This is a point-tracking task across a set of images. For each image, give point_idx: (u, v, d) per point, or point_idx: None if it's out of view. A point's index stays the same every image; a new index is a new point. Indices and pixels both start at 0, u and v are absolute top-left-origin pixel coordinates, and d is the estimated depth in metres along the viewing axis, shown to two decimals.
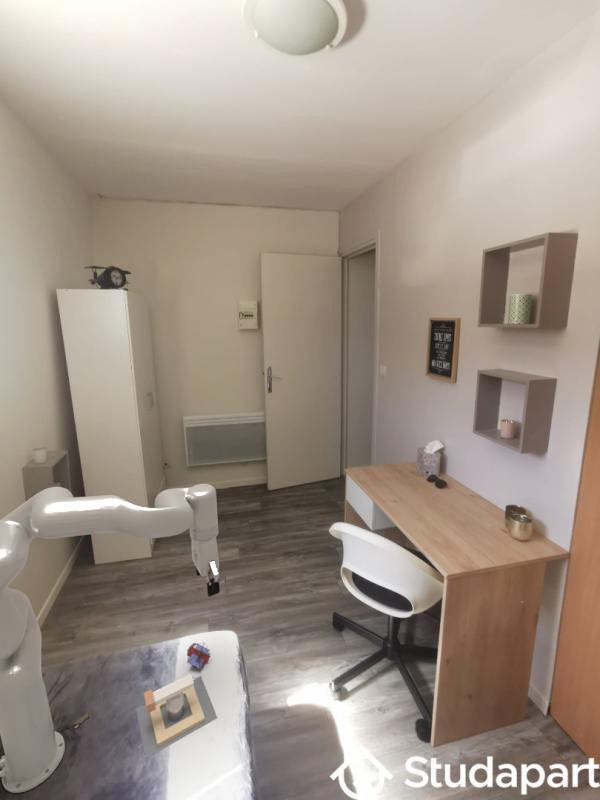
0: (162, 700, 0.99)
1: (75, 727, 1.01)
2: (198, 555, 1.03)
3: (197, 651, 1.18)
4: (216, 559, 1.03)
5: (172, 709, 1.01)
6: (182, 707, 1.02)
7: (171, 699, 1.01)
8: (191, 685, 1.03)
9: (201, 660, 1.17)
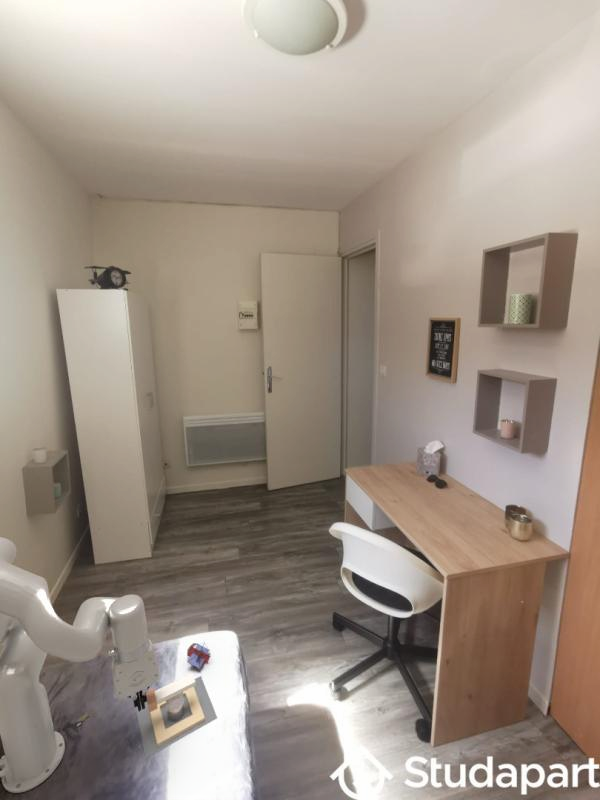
0: (164, 699, 0.99)
1: (77, 725, 1.02)
2: (148, 667, 0.93)
3: (197, 651, 1.18)
4: None
5: (172, 709, 1.01)
6: (182, 707, 1.02)
7: (171, 699, 1.01)
8: (192, 684, 1.03)
9: (201, 660, 1.17)
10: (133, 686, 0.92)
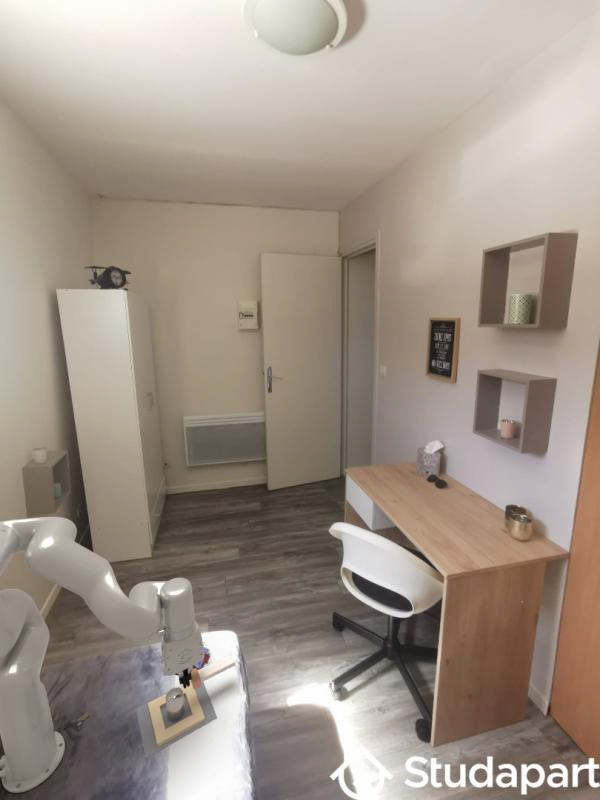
0: (206, 678, 1.05)
1: (78, 724, 1.02)
2: (194, 646, 0.99)
3: None
4: None
5: (172, 709, 1.01)
6: (182, 707, 1.02)
7: (171, 699, 1.01)
8: (232, 664, 1.09)
9: None
10: (181, 664, 0.98)
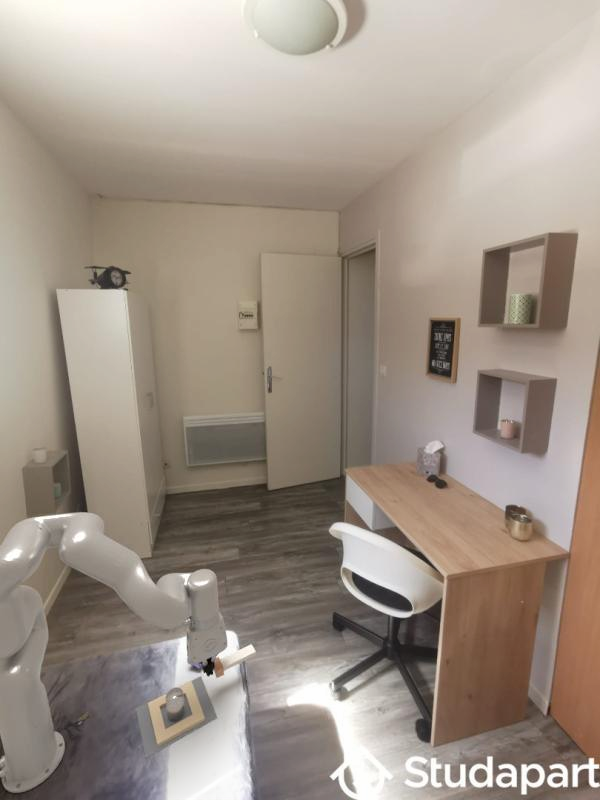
0: (229, 666, 1.08)
1: (79, 724, 1.02)
2: (218, 635, 1.03)
3: None
4: None
5: (172, 709, 1.01)
6: (182, 707, 1.02)
7: (172, 699, 1.01)
8: (253, 654, 1.12)
9: None
10: (206, 652, 1.01)
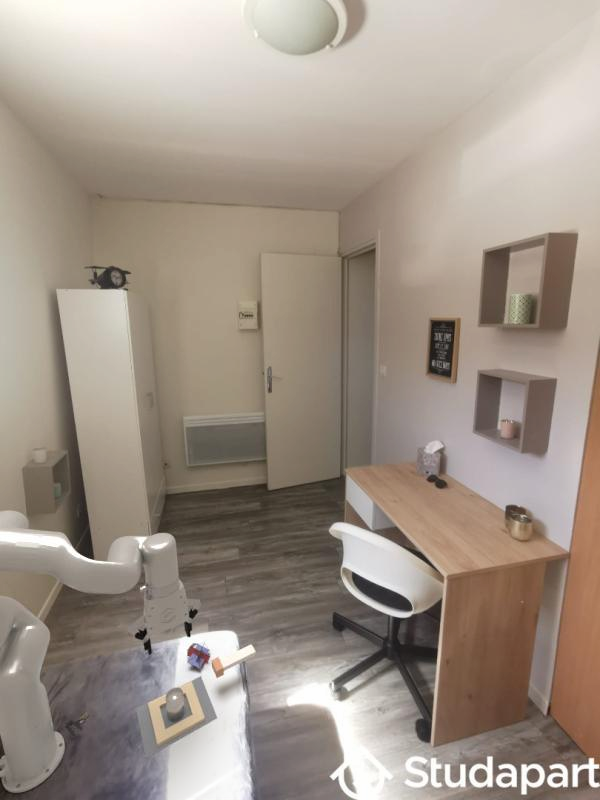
0: (229, 666, 1.08)
1: (80, 722, 1.02)
2: (178, 605, 0.94)
3: (197, 651, 1.18)
4: None
5: (172, 709, 1.01)
6: (182, 707, 1.02)
7: (171, 699, 1.01)
8: (253, 654, 1.12)
9: (201, 660, 1.17)
10: (164, 623, 0.93)
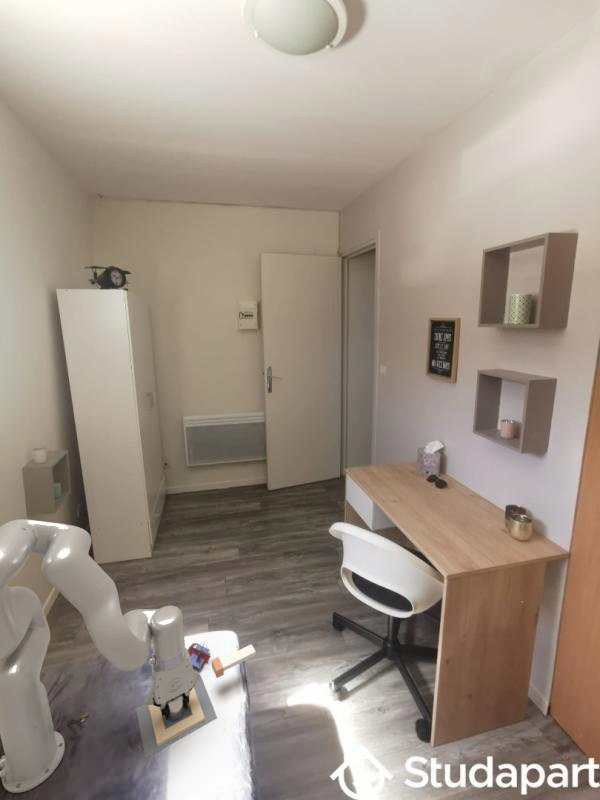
0: (229, 666, 1.08)
1: (82, 721, 1.03)
2: (184, 674, 0.99)
3: (197, 651, 1.18)
4: None
5: (172, 709, 1.01)
6: (182, 707, 1.02)
7: (171, 699, 1.01)
8: (253, 654, 1.12)
9: (201, 660, 1.17)
10: (171, 692, 0.98)
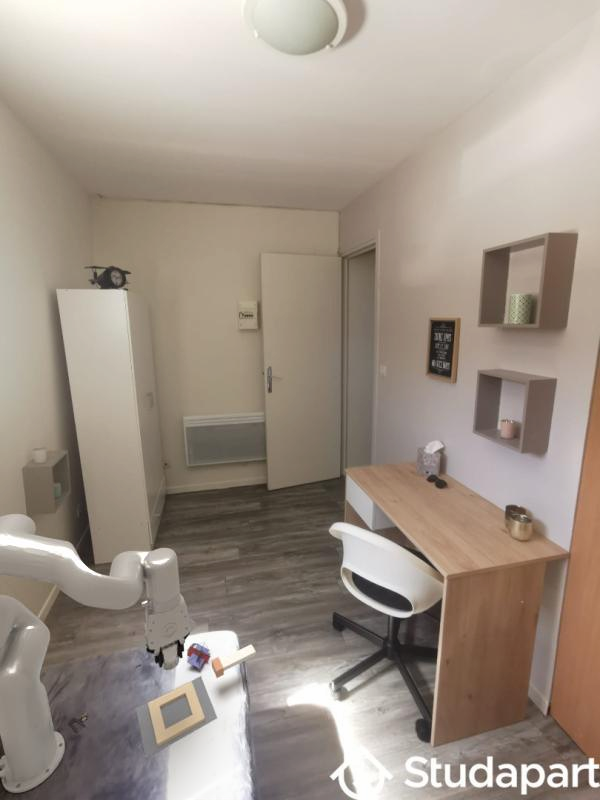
0: (229, 666, 1.08)
1: (83, 720, 1.03)
2: (179, 619, 0.95)
3: (197, 651, 1.18)
4: None
5: (166, 656, 0.97)
6: (177, 655, 0.98)
7: (166, 646, 0.97)
8: (253, 654, 1.12)
9: (201, 660, 1.17)
10: (165, 637, 0.94)
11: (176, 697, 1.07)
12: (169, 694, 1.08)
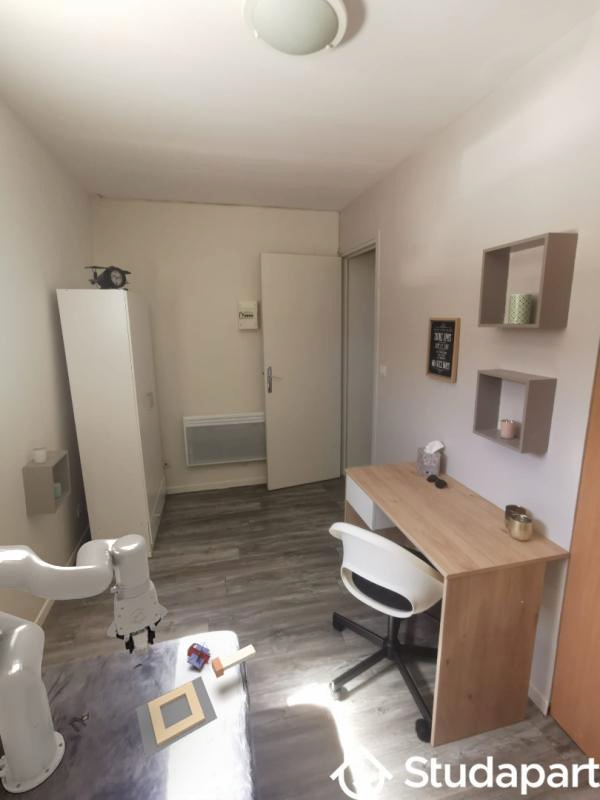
0: (229, 666, 1.08)
1: (84, 719, 1.03)
2: (149, 606, 0.96)
3: (197, 651, 1.18)
4: None
5: (136, 642, 0.97)
6: (147, 642, 0.99)
7: (136, 633, 0.98)
8: (253, 654, 1.12)
9: (201, 660, 1.17)
10: (134, 623, 0.95)
11: (176, 697, 1.07)
12: (169, 694, 1.08)
